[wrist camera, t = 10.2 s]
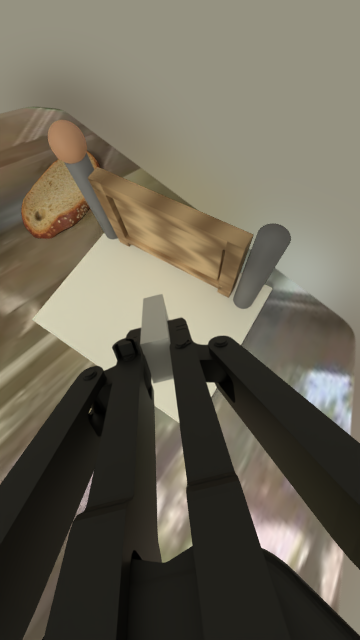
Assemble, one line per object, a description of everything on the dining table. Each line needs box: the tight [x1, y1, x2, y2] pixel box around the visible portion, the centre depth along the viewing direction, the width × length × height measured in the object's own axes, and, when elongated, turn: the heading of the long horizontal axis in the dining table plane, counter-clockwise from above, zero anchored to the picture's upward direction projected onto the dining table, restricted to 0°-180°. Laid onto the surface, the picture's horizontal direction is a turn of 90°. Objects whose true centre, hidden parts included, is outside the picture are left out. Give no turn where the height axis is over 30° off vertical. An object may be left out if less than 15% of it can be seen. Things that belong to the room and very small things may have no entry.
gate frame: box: [32, 120, 291, 422], centre depth 28 cm, size 30×24×18 cm
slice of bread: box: [22, 151, 100, 238], centre depth 45 cm, size 18×18×4 cm
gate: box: [88, 167, 253, 298], centre depth 32 cm, size 21×2×12 cm, turn 58°
